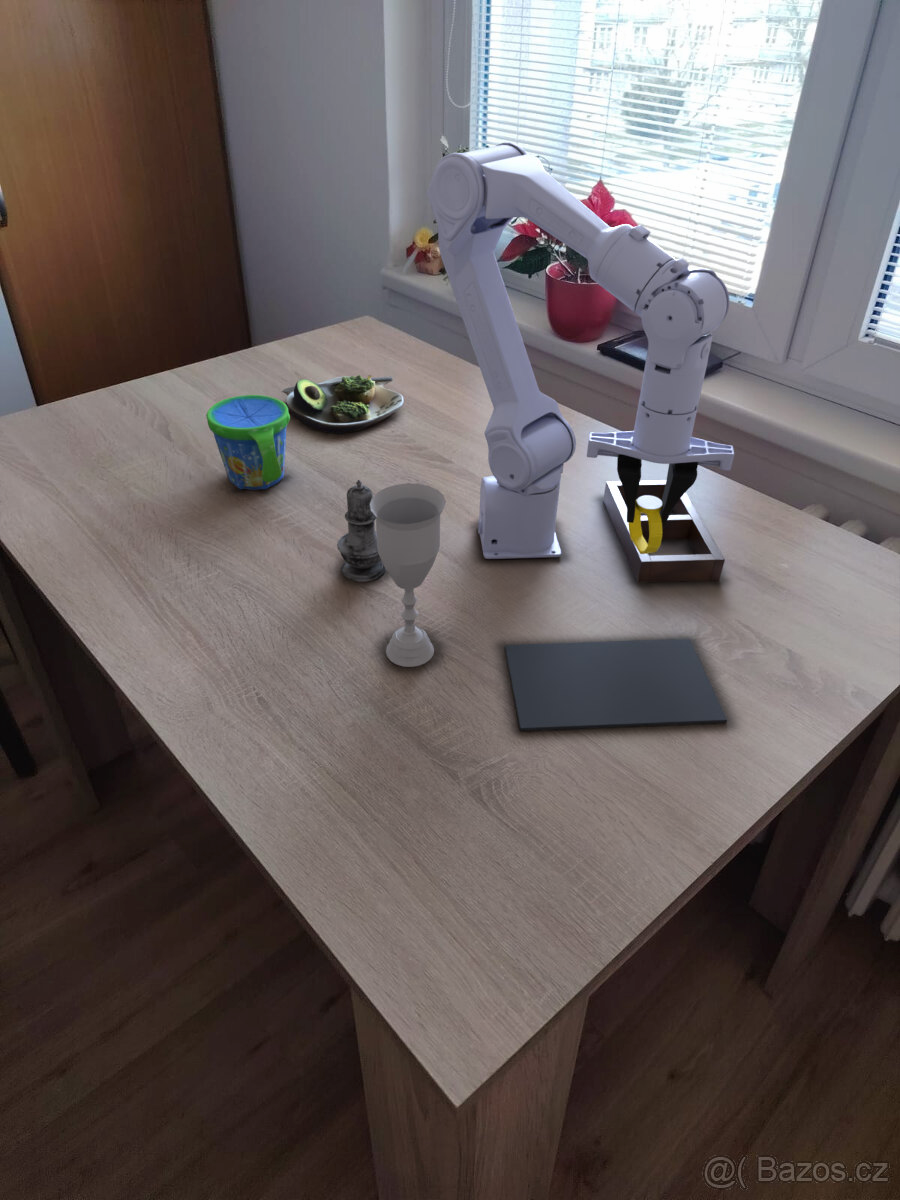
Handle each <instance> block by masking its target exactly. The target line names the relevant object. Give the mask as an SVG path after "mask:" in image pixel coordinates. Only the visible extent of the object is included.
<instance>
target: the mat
mask: <svg viewBox="0 0 900 1200" xmlns="http://www.w3.org/2000/svg"><path fill="white" fill-rule="evenodd" d="M504 651H505V657H506V662H507V663H506V664H507V668H508V673H509V679H510V683H511V689H512V693H513V700H514V705H515V710H516V715H517V721H518V727H519V731H520V732H529V731H531V732H532V731H551V730H552V731H553V730H554V731H555V730H577V729H578V730H581V729H599V728H601V729H604V728H606V729H607V728H626V727H627V728H629V727H630V728H631V727H651V726H652V727H653V726H676V725H702V724H704V725H705V724H723V723H725V724H726V723H727V722H728V718H727V716H726V713H725V712H724V710H723V707H722V705H721V703H720V701H719V698H718V696H717V694H716V691H715V690H714V688H713V686H712V683H711V682H710V679H709V677H708V675H707V672H706V671H705V669H704V667H703V664H702V662H701V660H700V657H699V655H698V653H697V650H696V649H695V647H694V644H693V642H692V640H691V638H672V639H671V638H670V639H669V638H667V639H641V640H640V639H639V640H609V641H607V640H605V641H581V642H580V641H579V642H578V641H577V642H576V641H575V642H553V643H552V642H547V643H521V644H519V643H518V644H517V643H516V644H515V643H514V644H504Z"/></svg>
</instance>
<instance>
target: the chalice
mask: <svg viewBox="0 0 900 1200" xmlns="http://www.w3.org/2000/svg"><path fill="white" fill-rule="evenodd" d="M446 502H447V501H446V498H445V495H444V494H443V493H442V492H441V491H440V490H439V489H437V488H434V487H433V486H430V485H426V484H422V483H409V482H408V483H399V484H394V485H391V486H388V487H385V488H383V489H381V490H379V491H377V492H376V493H375V494H374V495H373V498H372V500H371V502H370V508H371V511H372V513H373V514H374V516H375V517H376V519H375V526H376V527H375V531H376V532H377V549H378V554H379V556H380V558H381V560H382V563H383V565H384V567H385V569H386V572H387V573H388V575H389V576H390V578H391V579H392V581H393V582H394V584H395V585H396V586H397V587H398V588H400V589H403V590H404V594H403V597H402V598H401V603H402V604H403V606H404V610H403V611H401V613H400V617H401V619H403V620H404V624H405V625H403V626H400V627H398V628H397V629H396V630H395V631H394V632H393V634H392V636H391V638H390V640H389V643H388V644H387V646H386V649H385V654H386V657H387V658H388V660H389V661H390V662H392V663H393V664H395V665H398V666H401V667H405V668H406V667H407V668H413V667H419V666H422V665H424V664H426V663H428V662H429V661H430V660H431V659H432V658H433V656H434V655H435V648H434V645H433V644H432V642H431V639H430V638H429V637H428V634H427V632H426V631H425V630H424V629H422V628H421V627H419V626H418V625H415V620H416V619H417V618H418V617H419V613H418V610H416V609H415V604H416V603H417V602H418V597H417V596H416V594H415V589H417V588H419V587H421V586H422V585H423V583H424V581H425V579H426V578H427V576H428V574H429V572H430V571H431V569H432V567H433V566H434V563H435V561H436V558H437V556H438V553H439V550H440V546H441V514H442V513H443V511H444V510H445V508H446V507H445V506H446Z"/></svg>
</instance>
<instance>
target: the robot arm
mask: <svg viewBox="0 0 900 1200" xmlns="http://www.w3.org/2000/svg"><path fill="white" fill-rule="evenodd" d="M426 197H427V199H428V203H429V206H430V208H431V211H432V213H433V217H434V219H435V222H436V225H437V235H438V249H439V254H440V258H441V262H442V264H443V267H444V269H445V273H446V276H447V278H448V281H449V284H450V287H451V289H452V293H453V296H454V299H455V301H456V304H457V306H458V307H457V308H458V310H459V313H460V315H461V318H462V321H463V324H464V327H465V329H466V333H467V336H468V338H469V341H470V344H471V347H472V350H473V352H474V355H475V358H476V361H477V364H478V367H479V370H480V373H481V376H482V379H483V381H484V384H485V387H486V390H487V393H488V395H489V398H490V402H491V404H492V407H493V410H492V413H491V415H490V417H489V420H488V422H487V425H486V427H485V430H484V437H485V440H486V443H487V448H488V449H487V450H488V456H487V457H488V458H487V461H488V466H489V469H490V471H491V474H492V475H489V476H484V477H481V481H480V492H479V510H478V511H479V512H478V513H479V514H478V515H479V516H478V519H477V532H478V535H479V538H480V542H481V549H482V553H483V558H484V559H487V560H500V559H537V558H540V559H541V558H542V559H543V558H561V556H562V550H561V546H560V543H559V539H558V537H557V533H556V522H557V513H558V508H559V507H558V506H559V497H560V490H561V489H560V488H561V480H562V474H563V472H564V464H565V463H567V462H568V461H570V460H571V459H572V457H574V454H575V452H576V447H577V440H576V435H575V431H574V430H573V428H572V426H571V424H570V423H569V422H568V421H567V419H566V418H565V417H564V416H563V414H562V412H561V410H560V407H559V403H558V402H557V401H556V400H555V399H554V398H552V397H551V396H548V395H546V394H545V393H544V392H541V391H540V389H539V386H538V382H537V380H536V377H535V373H534V370H533V367H532V364H531V361H530V358H529V355H528V352H527V350H526V346H525V343H524V339H523V336H522V335H521V331H520V327H519V325H518V322H517V318H516V315H515V313H514V312H515V311H514V310H513V307H512V304H511V300H510V297H509V294H508V291H507V288H506V285H505V282H504V279H503V277H502V273H501V271H500V267H499V264H498V261H497V258H496V255H495V250H496V248H497V246H498V243H499V241H500V239H501V236H502V234H503V232H504V230H505V229H506V227H507V226H509V224H510V222H511V221H512V220H513V219H514V218H524V219H527V220H528V221H530V222H531V223H533V224H534V225H536V226H537V227H539V228H540V229H542V230H543V231H545V232H546V233H548V234H549V235H551V236H552V237H554V238H555V239H557V240H558V241H560V242H561V243H563V244H564V245H566V246H567V247H568V248H570V249H572V250H573V251H574V252H576V253H578V254H579V255H581V256H582V257H583V258H585V259H586V260H587V265H588V274H589V277H590V279H591V280H593V282H595V283H596V284H598V285H599V286H600V287H602V288H603V289H604V290H605V291H606V292H608V293H609V294H610V295H611V296H613V297H614V298H615V299H617V300H618V301H619V302H620V303H622V304H623V305H625V306H626V307H627V308H628V309H629V310H631V311H632V312H634V313H635V314H636V315H638V317H640V318H641V319H640V320H641V325H642V329H643V332H644V334H645V335H646V338H647V342H648V345H647V350H646V351H647V352H646V357H645V364H644V370H643V375H642V381H641V387H640V393H639V394H640V395H639V398H638V405H637V409H636V416H635V421H634V428H633V430H629V431H626V430H625V431H614V432H613V431H612V432H591V431H590V432H589V434H588V441H587V448H586V449H587V450H586V457H587V458H591V459H597V458H598V456H602V457H613V458H617V461H616V462H617V463H616V471H617V476H618V478H619V481H621V484H622V487H623V490H624V494H625V498H626V504H627V505H626V507H627V522H629V523H633V522H634V517H635V506H636V497H637V492H638V488H639V483H640V481H641V479H642V466H643V464H642V461H646V462H649V463H653V464H659V465H661V464H662V465H668V468H667V475H666V479H665V480H666V486H665V490H664V493H663V497H662V509H661V511H660V512H659V513H660V516H661V520H662V521H661V522H662V526H665V525H666V522H667V520H668V518H669V516H670V515H672V513H673V511H672V510H673V508H674V507H675V505H676V504H677V502H678V501H679V499H680V498H681V497H682V496H683V494H684V493H685V492H686V493H687V491H688V490H689V489H690V488H692V486H694V484H695V482H696V480H697V479H698V467H699V466H705V467H714V468H715V467H716V468H718V469H719V470H720V471H727V472H730V471H732V466H733V462H734V458H735V451H734V450H735V449H734V445H732V444H722V443H718V442H715V441H714V442H713V441H709V440H705V439H701V438H697V437H694V436H693V431H694V427H695V423H696V417H697V414H698V408H699V403H700V399H701V395H702V390H703V385H704V382H705V375H706V372H707V367H708V362H709V356H710V351H711V346H712V341H713V338H714V335H713V333H712V332H713V331H715V330H716V329H717V328H718V327H719V326H720V325H721V324H722V323H723V322H724V320H725V319H726V317H727V316H728V313H729V309H730V294H729V291H728V288H727V286H726V285H725V283H724V281H723V280H722V278H720V277H719V276H718V275H717V274H716V273H717V272H715V271H714V270H713V269H710V268H705V267H698V268H697V267H696V268H689V266H690V264H689V262H688V261H687V260H685V259H684V258H682V257H680V258H678V259H677V258H676V257H674V256H672V255H671V253H668V252H667V251H666V250H665V249H663V248H662V247H661V246H659V245H658V244H657V243H655V242H654V241H652V240H651V239H650V238H649V237H650V234H651V232H650V230H649V229H647V228H646V227H644V226H643V225H642V224H638V225H636V226H632V225H631V224H630V223H629V224H627V223H625V224H620V225H617V226H614V227H612V226H610V225H608V223H606V222H605V221H603V219H601V218H600V216H598V215H597V214H596V213H595V212H594V211H592V210H591V209H590V208H588V206H586V205H585V204H584V203H583V202H582V201H581V200H580V199H579V198H577V197H576V196H575V195H573V193H571V192H570V191H569V190H568V189H567V188H566V187H564V186H563V185H562V183H559V181H557V180H556V179H555V178H554V177H553V176H552V175H551V174H550V173H548V171H546V170H545V168H544V166H543V163H542V161H541V160H540V158H539V157H537V156H535V155H533V154H531V153H528V152H527V151H526V150H525V149H524V148H523V147H522V146H521V145H519V144H518V143H515V142H511V141H505V142H501V143H498V144H496V145H495V146H489V147H485V148H479V149H475V150H470V151H465V152H451V153H448V154H446V155H444V156H443V157H442V158H441V159H440V160H439V161H438V163H437V164H436V166H435V168H434V171H433V173H432V176H431V180H430V182H429V185H428V188H427V191H426Z"/></svg>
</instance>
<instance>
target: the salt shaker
mask: <svg viewBox="0 0 900 1200" xmlns="http://www.w3.org/2000/svg"><path fill="white" fill-rule="evenodd" d="M373 497H374V495H373V492H372V489H371V488H370V487H368V486H367V485H363V483H362V481H361V480H360V479H358V480H357V481H356V482H355V485H353V486H351V487H349V489H347V492H346V505H347V512H345V513H344V519H345V521H346V522H347V527H348V528H347V533H345V534H343V535H342V536H341V537H340V538H339V539H338V540H337V543H336V546H337V550H338V552H339V553H340V555H341V557H342V559H343V561H344V562H343V564H342V565H341V574H342V576H344V577H345V578H346V579H348V580H350V581H353V582H360V583H366V582H373V581H375V580H377V579H380V578H381V577H383V575H384V574H386V572H387V570H386V569H385V567H384V565H383V563H382V560H381V558H380V556H379V554H378V549H377V532H376V527H375V526H376V517H375V516H374V514H373V513H372V511H371V508H370V502H371V500H372V498H373Z"/></svg>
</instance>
